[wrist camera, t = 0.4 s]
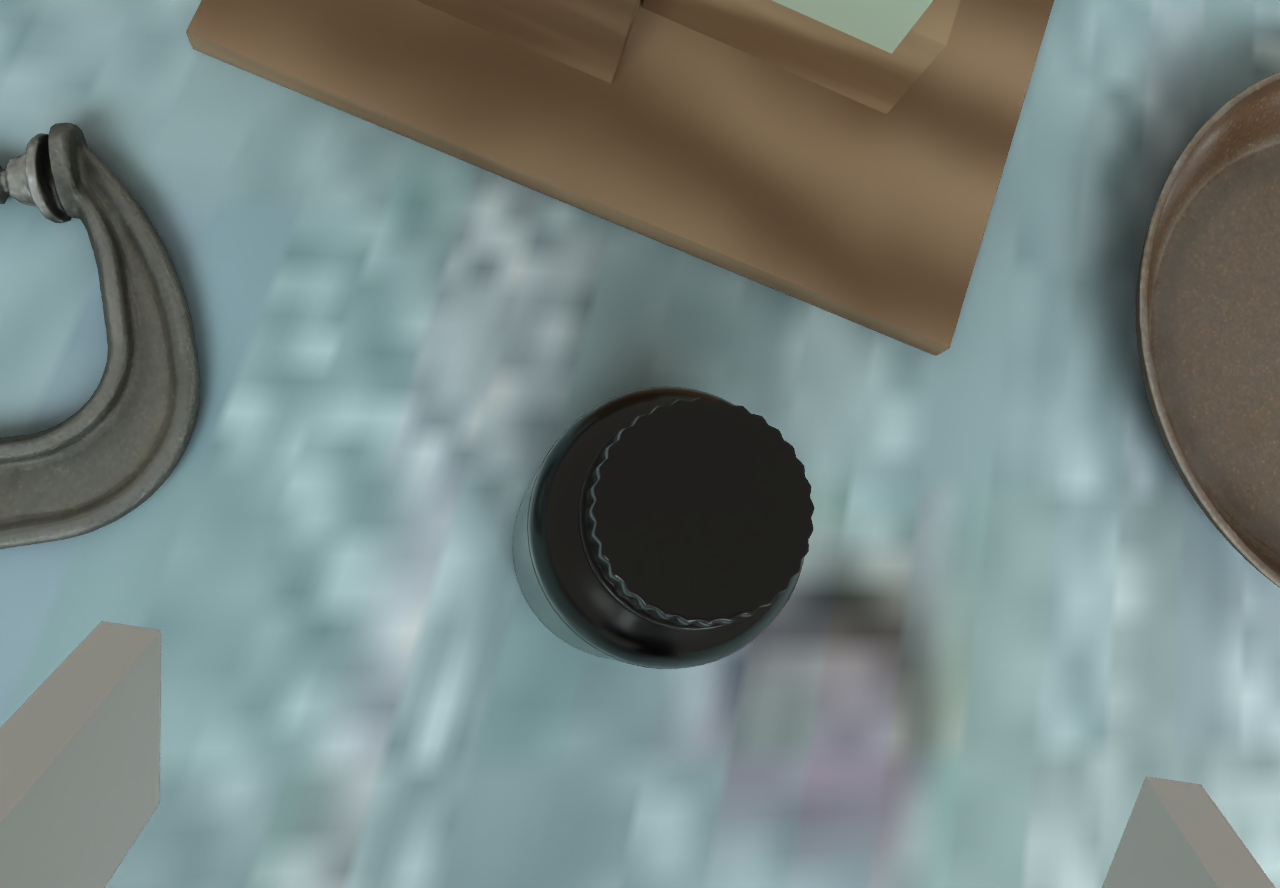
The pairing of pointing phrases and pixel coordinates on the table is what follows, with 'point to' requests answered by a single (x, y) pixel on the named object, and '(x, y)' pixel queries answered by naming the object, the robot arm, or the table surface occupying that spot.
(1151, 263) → the plant saucer
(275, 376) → the table surface
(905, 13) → the bar
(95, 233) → the c clamp
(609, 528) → the supplement bottle
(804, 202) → the cradle
